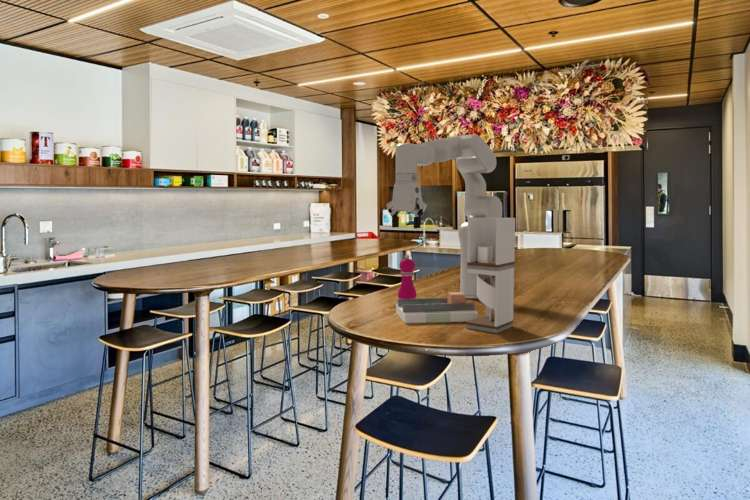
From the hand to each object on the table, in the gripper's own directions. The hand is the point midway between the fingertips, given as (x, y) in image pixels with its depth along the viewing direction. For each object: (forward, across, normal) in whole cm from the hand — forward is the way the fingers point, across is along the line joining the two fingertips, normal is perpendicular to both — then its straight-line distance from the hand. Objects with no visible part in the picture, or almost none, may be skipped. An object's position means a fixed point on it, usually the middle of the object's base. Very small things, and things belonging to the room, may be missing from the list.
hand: (406, 227), depth 189 cm
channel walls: (+28, -11, -2) cm, 30 cm away
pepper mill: (+31, +7, -10) cm, 34 cm away
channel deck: (+31, -11, -2) cm, 33 cm away
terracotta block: (+28, -16, -8) cm, 33 cm away
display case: (+31, -34, -1) cm, 46 cm away
